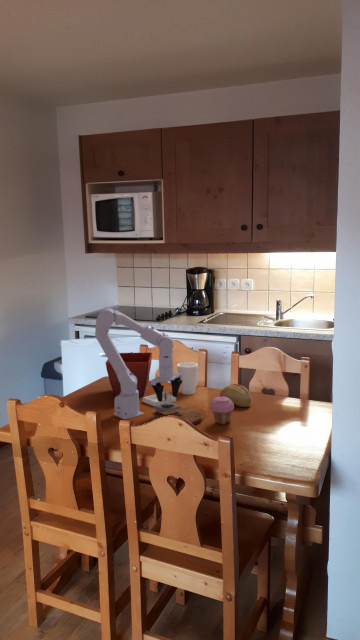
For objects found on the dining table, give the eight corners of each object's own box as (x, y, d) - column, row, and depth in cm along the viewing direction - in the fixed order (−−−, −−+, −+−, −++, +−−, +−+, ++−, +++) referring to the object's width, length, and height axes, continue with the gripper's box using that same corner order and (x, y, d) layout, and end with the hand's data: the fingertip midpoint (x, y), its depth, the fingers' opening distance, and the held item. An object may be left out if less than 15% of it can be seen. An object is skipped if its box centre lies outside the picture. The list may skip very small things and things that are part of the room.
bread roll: (229, 397, 224) (229, 379, 223) (257, 404, 214) (256, 386, 212) (214, 402, 218) (214, 384, 217) (242, 410, 207) (242, 391, 206)
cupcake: (224, 428, 188) (224, 402, 186) (206, 423, 193) (205, 397, 192) (238, 421, 194) (238, 396, 193) (220, 416, 200) (219, 392, 199)
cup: (166, 417, 201) (166, 409, 201) (155, 412, 207) (155, 405, 206) (180, 412, 206) (179, 405, 205) (169, 408, 211) (168, 401, 211)
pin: (167, 413, 204) (166, 394, 203) (162, 411, 206) (161, 392, 205) (173, 411, 206) (172, 392, 205) (168, 410, 208) (167, 391, 207)
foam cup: (199, 389, 237) (198, 362, 235) (197, 395, 228) (197, 367, 226) (178, 389, 238) (178, 362, 236) (176, 395, 229) (175, 367, 227)
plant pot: (150, 399, 225) (148, 361, 222) (106, 399, 225) (105, 362, 223) (153, 386, 244) (152, 352, 241) (113, 387, 244) (111, 353, 242)
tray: (155, 407, 213) (155, 402, 213) (143, 402, 220) (142, 397, 219) (176, 401, 220) (176, 396, 220) (163, 397, 227) (163, 392, 226)
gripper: (158, 371, 196) (159, 405, 198) (186, 364, 205) (187, 397, 207) (147, 368, 201) (148, 401, 203) (175, 361, 210) (176, 393, 212)
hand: (167, 398), depth 205 cm, fingers open, 7 cm apart
